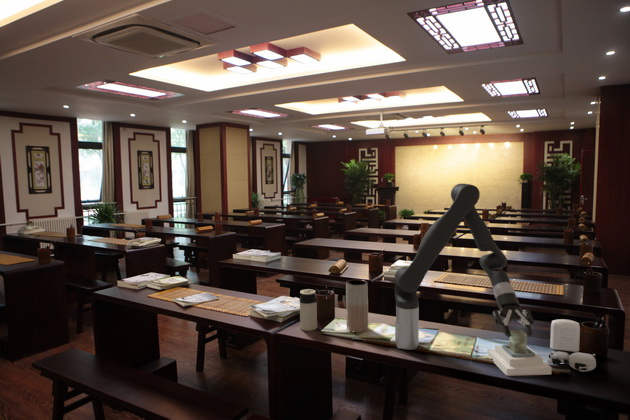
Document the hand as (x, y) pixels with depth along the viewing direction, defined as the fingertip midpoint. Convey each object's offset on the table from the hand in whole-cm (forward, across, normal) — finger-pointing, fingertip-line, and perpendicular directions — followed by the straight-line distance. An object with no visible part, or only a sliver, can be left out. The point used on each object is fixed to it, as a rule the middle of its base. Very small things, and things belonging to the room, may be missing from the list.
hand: (519, 336), depth 154 cm
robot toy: (+9, +19, +8) cm, 22 cm away
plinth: (+7, 0, +9) cm, 11 cm away
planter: (-21, -56, +37) cm, 70 cm away
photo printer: (-1, +25, +18) cm, 31 cm away
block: (+4, 0, +5) cm, 7 cm away
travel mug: (-23, -79, +39) cm, 91 cm away
